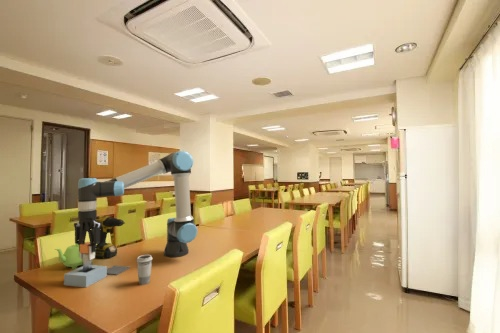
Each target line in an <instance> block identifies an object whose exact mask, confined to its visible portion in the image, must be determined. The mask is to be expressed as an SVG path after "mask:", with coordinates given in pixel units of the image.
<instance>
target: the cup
mask: <svg viewBox="0 0 500 333" xmlns="http://www.w3.org/2000/svg"><path fill="white" fill-rule="evenodd" d="M152 261H153V257H152V255H151V254H142V255H139V256H137V258H136V262H137V264H136V266H137V277H138V284H139V285H140V286H144V285H148V284H150V282H151V280H150V279H151V275H152V274H151V273H152V263H153V262H152Z"/></svg>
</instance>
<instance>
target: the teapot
mask: <svg viewBox="0 0 500 333" xmlns="http://www.w3.org/2000/svg"><path fill="white" fill-rule="evenodd" d="M54 250H56V251H57V253H58V260H59V261H60V262H61V263H62V264H63V265H64V266H65V267H66V268H71V270H75V268H76V269H78V266H83V259H80V252H79V245H78V244H73V245H70V246H68V247H66V250H65V251H64V253H63V250H62V249H61V248H55V249H54Z"/></svg>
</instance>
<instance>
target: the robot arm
mask: <svg viewBox="0 0 500 333" xmlns="http://www.w3.org/2000/svg"><path fill="white" fill-rule="evenodd" d="M193 166H194V158H193V156H192V155H191V153H189V152H187V151H184V150H179V151H176V152H172V153H169V154H168V155H166V156H164V157H162V158H159V159H157V161H156V162H154V163H151V164H148V165H144V166H143V167H140V168H138V169H135V170H133V171H130V172H127V173H124V174H122V175H120V176H117V177H114V178H112V179H109V180H104V181H98V178H96V177H92V178H91V177H90V178H87V177H85V178H83V177H82V178H79V180H78V186H77V197H78V198H77V199H78V200H77V210H78V211H77V218H78V219H79V220H78V222H74V224H73V227H74V245H76V244H78V245H79V252H80V244H82V243H85V242H86V236H87V233H88V238H89V242H90V245H89V260H91V259H92V260H94V259H96V258H95V251H96V245H97V244H98V243H100V227H101V223H97V222H96V219H95V218H96V217H98V215H97V214H98V210H97V205H98V204H97V203H98V202H97V200H98V199H97V198H101V197H103V198H104V197H119V196H124V194H125V189H127V188H129V187H131V186H133V185H137V184H139V183H142V182H144V181H146V180H148V179H151V178H154V177H156V176H158V175H161V174H163V175H164V174H167V173H170V175H171V176H173V179H174V180H173V184H174V200H175V215H176V216H175V217H170V218H168V219H167V221H166V245H165V247H164V250H163V255H164V256H165V257H168V258H179V257H183V256H186V255H188V254H189V250H190V249H189V247H188V243H191V242H192V241H194V240H195V239H196V237H197V236H198V227H197V226H196V224H195V218H194V217H193V215H192V211H191V209H192V207H191V192H190V191H191V190H190V175H191V174H192V167H193ZM93 242H94V243H93ZM80 259H83V253H80Z"/></svg>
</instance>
